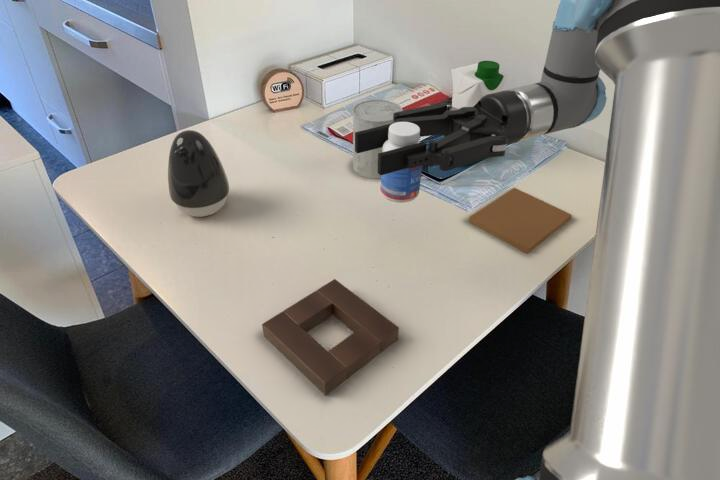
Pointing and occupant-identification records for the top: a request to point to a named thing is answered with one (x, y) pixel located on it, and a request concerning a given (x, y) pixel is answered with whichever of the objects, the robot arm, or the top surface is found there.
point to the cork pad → (520, 219)
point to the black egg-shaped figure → (196, 175)
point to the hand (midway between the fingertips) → (367, 153)
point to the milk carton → (476, 83)
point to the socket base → (347, 355)
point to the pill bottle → (405, 181)
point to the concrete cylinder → (367, 118)
